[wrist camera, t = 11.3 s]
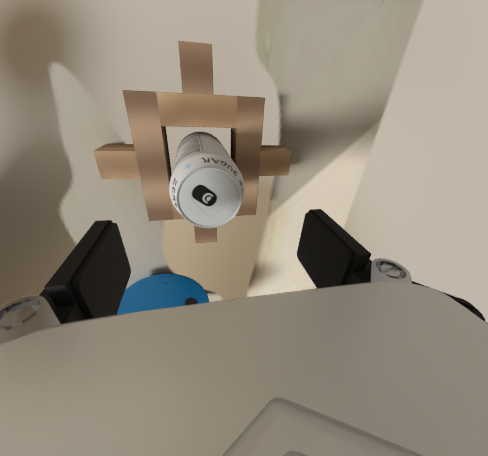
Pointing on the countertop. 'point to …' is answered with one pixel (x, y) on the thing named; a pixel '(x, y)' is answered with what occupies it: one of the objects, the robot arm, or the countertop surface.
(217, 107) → the cross socket stand
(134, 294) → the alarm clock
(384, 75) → the countertop surface
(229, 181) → the energy drink can
